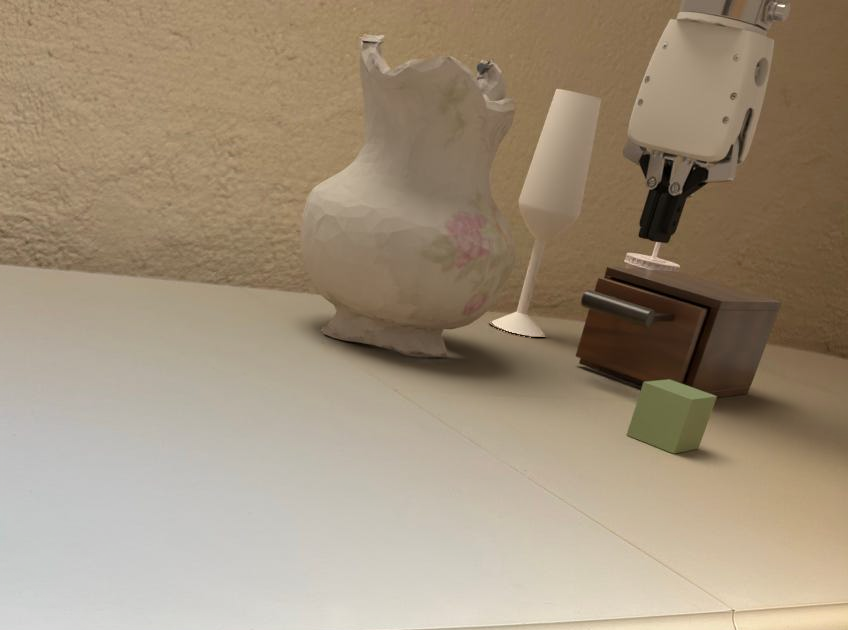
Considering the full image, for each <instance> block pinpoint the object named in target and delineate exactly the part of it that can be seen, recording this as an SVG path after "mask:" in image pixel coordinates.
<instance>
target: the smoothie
mask: <svg viewBox="0 0 848 630" xmlns="http://www.w3.org/2000/svg"><path fill="white" fill-rule="evenodd" d="M661 244H662V243H661V242H655V244H654V248H653V251H652V254H651V255H647V254H641V253H635V252H627V253H626V255H625V258H624V260H623V261H624V263H625V268H633V269H649V270H664V271H676V272H680V271H679V270H680V268H681V266H680V264H678V263H675V262H673V261H670V260H666V259H663V258H659V257H658V254H659V251H660V247H661Z"/></svg>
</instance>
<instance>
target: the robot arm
mask: <svg viewBox="0 0 848 630" xmlns="http://www.w3.org/2000/svg"><path fill="white" fill-rule="evenodd" d="M791 9H792V8H791V2H788V1H783V0H681V2H680V5H679V10H678V12H677V16H676V18H675V19H674V18H671V19H669V20H668V22H667V25H666V26H665V28H664V30H663V32H662V34H661V36H660V38H659V40H658V42H657V44H656V46H655V48H654V51H653V53H652V55H651V58H650V59H649V63H648V66H647V68H646V71H645V73H644V76H643V78H642V81H641V84H640V86H639V89H638V93H637V96H636V98H635V102H634V104H633V108H632V110H631V115H630V118H629V123H628V126H627V137H628V140H627V141H626V144H625V145H624V148H623V150H622V155H623V157H624V158H626V159H627V160H629V161H631V162H632V163H634V164H635V165H637V166H638V167H640V169H641V172H642V174H643V177H644V178H645V187H646V189H648V193H647V196H646V200H645V201H644V206H643V209H642V212H641V215H640V219H639V224H638V225H639V227H640V228H639V231H638V235H637V236H638V238H640V239H643V240H648V241H651V242H654V243H656V242H661V244H668V243H669V242H670V241H671V238H672V236H674V235H675V234H676V231H677V229H678V226H679V224H680V220H681V216H682V214H683V211H684V208H685V205H686V201H687V199H690V198H692V197H693V196H694V194H695V193H696V192H697V191H699V190H701V189H702V188H704V187H705V186H706V185H708V184H717V183H719V184H720V183H731V182H733V181H734V180H735V179H736V176H737V169H738V166H739V165H741V164H743V163H744V162H745V161H746V159H747V156H748V154H749V152H750V149H751V145H752V143H753V140H754V136H755V133H756V129H757V126H758V123H759V120H760V115H761V111H762V108H763V104H764V100H765V96H766V91H767V86H768V83H769V77H770V73H771V68H772V67H771V66H772V61H773V55H774V50H775V49H774V48H775V40H774V39H773V38H771V37H769V36H767V34H768V32H770V31H771V29H772V26H773V23H776V22H786V21H787V20H788V18H789V16H790V14H791ZM648 150H650V151H648ZM678 157H681V159H680V161H679V163H678V165H677V159H678ZM709 164H711V165H709ZM676 165H677V168H676Z"/></svg>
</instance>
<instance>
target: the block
mask: <svg viewBox="0 0 848 630" xmlns="http://www.w3.org/2000/svg"><path fill="white" fill-rule="evenodd" d="M717 399H718V398H717V396H715V395H712V394H709V393H707V392H704V391H701V390H698V389H695V388H692V387H690V386H687V385H684V384H681V383H678V382H676V381H673V380H670V379H667V380H657V381H647V382H643V385H641V388H640V391H639V395H638V397H637V401H636V405H635V407H634V410H633V413H632V416H631V419H630V423H629V426H628V429H627V432H626V436H627V437H630V438H633V439H635V440H638V441H641V442H643V443H645V444H648V445H651V446H653V447H655V448H658V449H659V450H662V451H664V452H668V453H670V454H673V455H674V454H680V453H685V452H689V451H694V450H698V449H699V448H700V445H701V442H702V440H703V437H704V434H705V431H706V429H707V426H708V423H709V420H710V417H711V415H712V412H713V410H714V406H715V404H716V401H717Z"/></svg>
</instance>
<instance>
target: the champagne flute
mask: <svg viewBox="0 0 848 630" xmlns="http://www.w3.org/2000/svg"><path fill="white" fill-rule="evenodd" d="M601 103H602V98H601V97H597V96H594V95H590V94H586V93H581V92H576V91H572V90H566V89H561V88H556V89H555V91H554V95H553V97H552V100H551V103H550V106H549V109H548V112H547V114H546V118H545V120H544V124H543V127H542V130H541V132H540V135H539V139H538V141H537V145H536V147H535V150H534V153H533V157H532V160H531V162H530V165H529V168H528V171H527V174H526V177H525V180H524V183H523V185H522V189H521V191H520V195H519V197H518V208H519V212H520V213H519V214H520V216H521V219H522V220H523V222H524V224H525V226H526V228H527V229H528V232H529V233H530V234H531V236H532V237H533V238H534V243H533V246H532V250H531V255H530V258H529V261H528V266H527V270H526V273H525V277H524V282H523V284H522V285H523V286H522V289H521V293H520V297H519V301H518V305H517V308H516V311H514V312H511V313H509V314H506V315H503V316H502V317H499V318H496V319H494V320H491V321H492V323H493V324H494V325H495V326H497V327H499V328H502V329H504V330H506V331H509V332H512V333H517V334H522V335H529V336H541V335H543V333H544V332H543V330H542V329H541V328H540V327H539V326H538V324H537V323H535V322H534V320H533V319H532V318H531V316H529V315H528V312H529V311H528V310H529V308H530V303H531V301H532V300H531V299H532V296H533V292H534V290H535V289H534V288H535V284H536V280H537V277H538V276H537V275H538V273H539V269H540V265H541V261H542V258H543V254H544V250H545V248H546V247H545V246H546V243H547V241H550V240H552V239H555V238H556V237H558V236H559V235H561V234H562V233H564V232H565V231H567V230H568V229H569V228H571V226H573V225H574V224H575V222H576V221H578V219H579V217H580V215H581V212H582V206H583V201H584V195H585V191H586V184H587V179H588V174H589V169H590V163H591V158H592V152H593V147H594V141H595V136H596V131H597V126H598V120H599V115H600V109H601Z"/></svg>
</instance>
